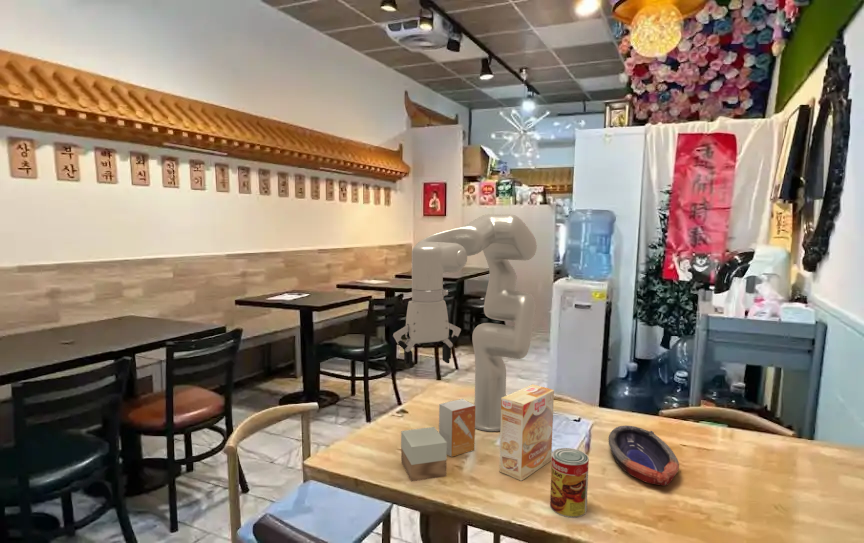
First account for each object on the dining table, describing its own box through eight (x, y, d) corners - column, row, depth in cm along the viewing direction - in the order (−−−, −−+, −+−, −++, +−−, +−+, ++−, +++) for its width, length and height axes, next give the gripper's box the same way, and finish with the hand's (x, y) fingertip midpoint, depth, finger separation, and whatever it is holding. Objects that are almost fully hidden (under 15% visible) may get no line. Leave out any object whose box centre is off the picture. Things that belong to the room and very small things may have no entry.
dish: (655, 440, 151) (656, 424, 151) (693, 497, 121) (694, 476, 120) (600, 437, 153) (600, 420, 153) (623, 491, 123) (624, 471, 122)
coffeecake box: (521, 481, 127) (523, 404, 125) (497, 471, 132) (499, 397, 130) (552, 460, 138) (555, 389, 136) (529, 452, 143) (531, 383, 141)
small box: (451, 457, 139) (451, 410, 138) (438, 448, 144) (438, 403, 143) (475, 450, 144) (476, 404, 142) (461, 442, 149) (462, 398, 147)
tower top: (434, 443, 138) (434, 426, 138) (446, 459, 129) (446, 442, 128) (401, 447, 136) (401, 430, 135) (411, 464, 126) (411, 447, 126)
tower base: (434, 459, 139) (434, 443, 138) (446, 477, 129) (446, 460, 129) (401, 463, 136) (401, 447, 136) (411, 482, 127) (411, 464, 126)
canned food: (545, 498, 119) (547, 448, 118) (579, 497, 120) (580, 447, 119) (556, 518, 112) (558, 464, 110) (592, 516, 112) (594, 463, 111)
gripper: (454, 291, 133) (454, 356, 135) (388, 295, 127) (390, 363, 129) (466, 296, 126) (466, 364, 128) (397, 300, 120) (398, 372, 122)
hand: (427, 363), depth 129 cm, fingers open, 9 cm apart
